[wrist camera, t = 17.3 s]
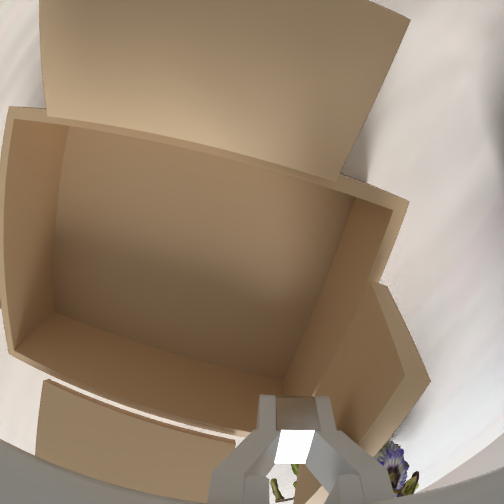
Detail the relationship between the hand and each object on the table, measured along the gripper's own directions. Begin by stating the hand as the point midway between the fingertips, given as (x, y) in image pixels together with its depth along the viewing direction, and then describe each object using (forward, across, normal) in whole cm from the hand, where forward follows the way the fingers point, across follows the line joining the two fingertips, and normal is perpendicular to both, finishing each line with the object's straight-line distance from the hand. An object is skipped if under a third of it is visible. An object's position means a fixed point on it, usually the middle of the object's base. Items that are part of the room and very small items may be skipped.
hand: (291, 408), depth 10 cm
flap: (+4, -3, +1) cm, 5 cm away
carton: (+11, +6, -1) cm, 13 cm away
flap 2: (+4, +8, +6) cm, 11 cm away
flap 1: (+4, +5, -8) cm, 10 cm away
